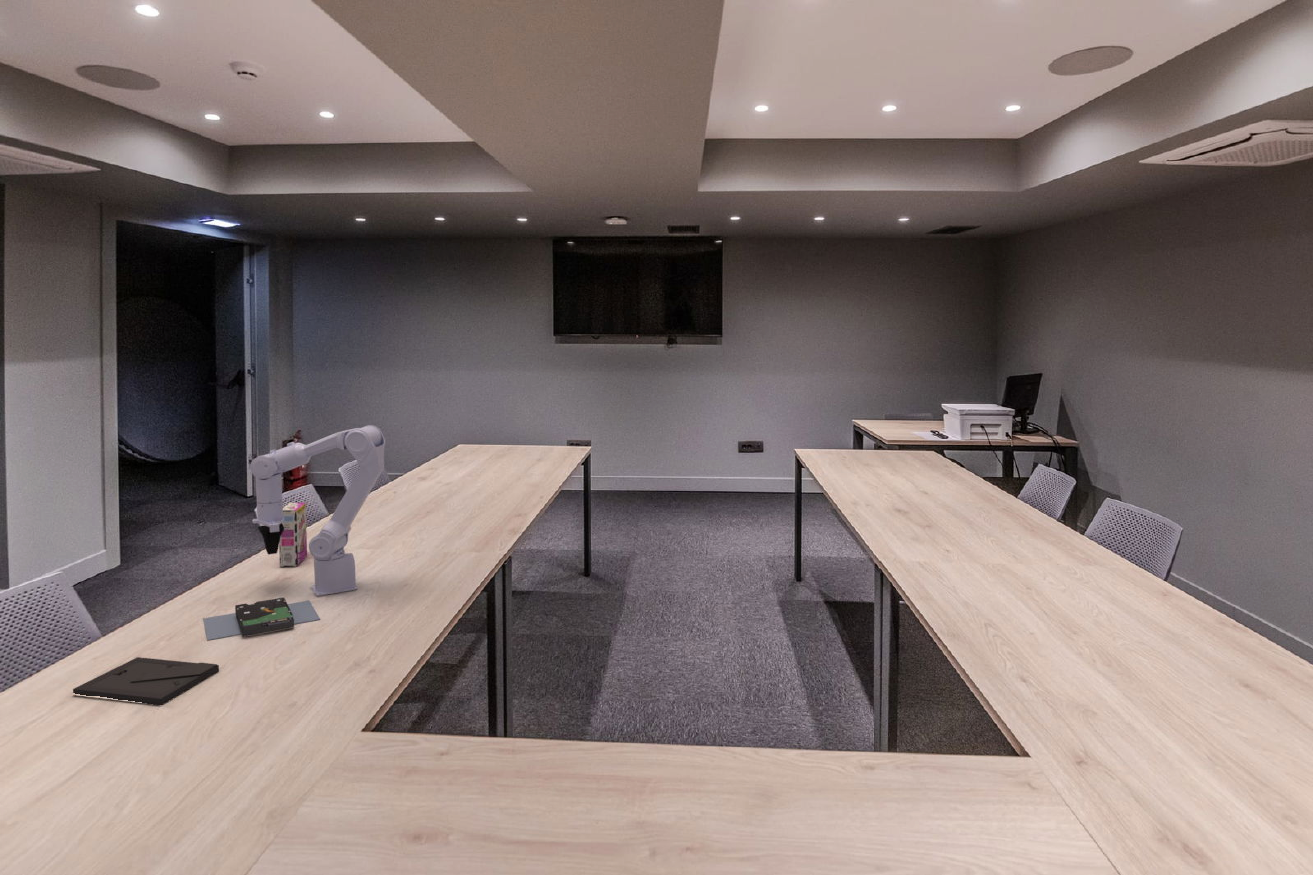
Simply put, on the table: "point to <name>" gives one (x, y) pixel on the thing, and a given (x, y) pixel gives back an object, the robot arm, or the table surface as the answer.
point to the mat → (230, 627)
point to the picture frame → (148, 680)
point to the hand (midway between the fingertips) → (272, 553)
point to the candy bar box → (293, 535)
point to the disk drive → (264, 617)
